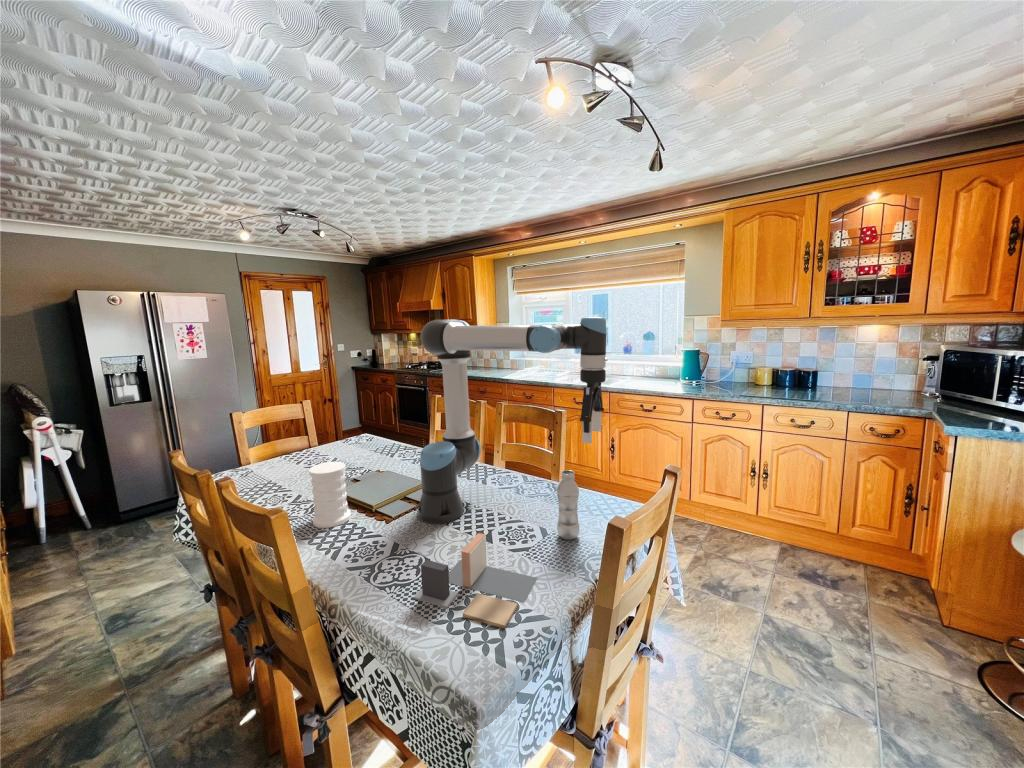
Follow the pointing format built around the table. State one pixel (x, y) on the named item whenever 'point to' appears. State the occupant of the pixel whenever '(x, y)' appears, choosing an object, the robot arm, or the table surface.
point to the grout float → (435, 585)
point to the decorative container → (329, 494)
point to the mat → (497, 582)
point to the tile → (473, 559)
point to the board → (490, 610)
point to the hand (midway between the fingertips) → (592, 436)
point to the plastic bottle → (568, 506)
